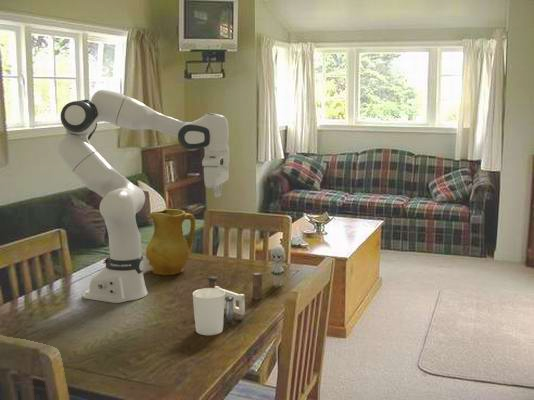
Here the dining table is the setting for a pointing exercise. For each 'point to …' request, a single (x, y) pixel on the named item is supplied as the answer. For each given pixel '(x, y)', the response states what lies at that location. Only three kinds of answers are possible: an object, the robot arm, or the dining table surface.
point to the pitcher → (169, 242)
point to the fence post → (257, 285)
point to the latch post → (229, 309)
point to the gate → (237, 297)
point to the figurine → (278, 262)
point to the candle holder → (209, 310)
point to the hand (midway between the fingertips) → (217, 196)
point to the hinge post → (212, 281)
